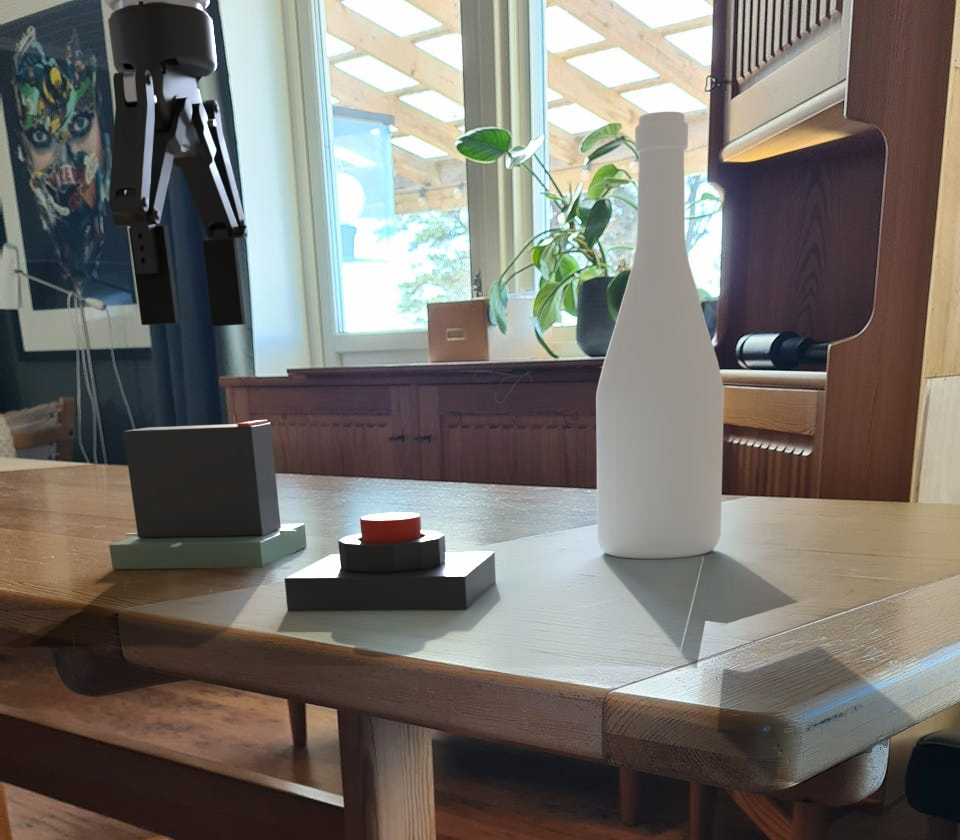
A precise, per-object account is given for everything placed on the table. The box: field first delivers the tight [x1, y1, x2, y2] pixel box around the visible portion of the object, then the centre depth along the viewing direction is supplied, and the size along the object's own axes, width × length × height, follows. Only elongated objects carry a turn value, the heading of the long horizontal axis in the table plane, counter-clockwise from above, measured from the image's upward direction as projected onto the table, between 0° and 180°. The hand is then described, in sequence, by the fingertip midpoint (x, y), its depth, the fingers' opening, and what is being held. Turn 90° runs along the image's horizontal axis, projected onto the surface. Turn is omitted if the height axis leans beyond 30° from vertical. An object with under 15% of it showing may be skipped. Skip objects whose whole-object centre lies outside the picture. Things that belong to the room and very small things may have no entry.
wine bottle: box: [595, 111, 725, 560], centre depth 95 cm, size 10×10×30 cm
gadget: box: [122, 419, 281, 538], centre depth 106 cm, size 11×4×9 cm, turn 79°
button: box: [359, 512, 422, 542], centre depth 85 cm, size 4×4×2 cm
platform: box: [108, 523, 308, 571], centre depth 108 cm, size 15×15×2 cm
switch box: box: [284, 529, 497, 612], centre depth 86 cm, size 12×10×4 cm
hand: (197, 325), depth 102 cm, fingers open, 13 cm apart
